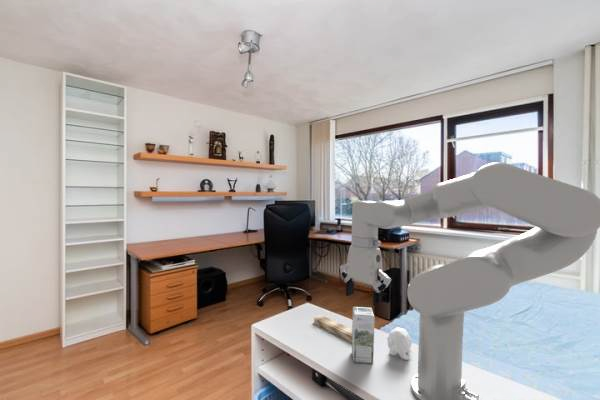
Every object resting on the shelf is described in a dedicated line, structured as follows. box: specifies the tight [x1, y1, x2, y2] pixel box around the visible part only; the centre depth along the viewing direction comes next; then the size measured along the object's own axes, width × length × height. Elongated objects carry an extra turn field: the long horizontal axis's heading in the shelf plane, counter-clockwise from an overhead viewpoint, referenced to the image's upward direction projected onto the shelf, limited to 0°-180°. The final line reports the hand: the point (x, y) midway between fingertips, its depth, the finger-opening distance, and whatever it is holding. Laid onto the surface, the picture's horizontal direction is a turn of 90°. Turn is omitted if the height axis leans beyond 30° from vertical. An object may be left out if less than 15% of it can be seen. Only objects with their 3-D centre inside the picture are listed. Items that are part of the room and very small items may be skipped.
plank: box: [313, 314, 352, 343], centre depth 97 cm, size 22×4×2 cm, turn 42°
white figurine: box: [386, 326, 412, 361], centre depth 85 cm, size 6×8×12 cm
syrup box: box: [351, 306, 375, 365], centre depth 82 cm, size 6×6×14 cm
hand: (362, 299), depth 82 cm, fingers open, 9 cm apart
